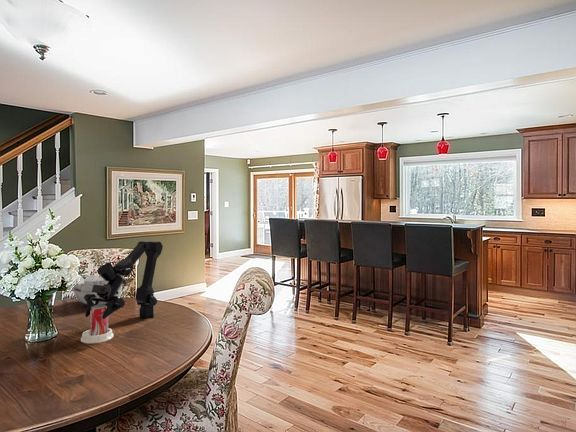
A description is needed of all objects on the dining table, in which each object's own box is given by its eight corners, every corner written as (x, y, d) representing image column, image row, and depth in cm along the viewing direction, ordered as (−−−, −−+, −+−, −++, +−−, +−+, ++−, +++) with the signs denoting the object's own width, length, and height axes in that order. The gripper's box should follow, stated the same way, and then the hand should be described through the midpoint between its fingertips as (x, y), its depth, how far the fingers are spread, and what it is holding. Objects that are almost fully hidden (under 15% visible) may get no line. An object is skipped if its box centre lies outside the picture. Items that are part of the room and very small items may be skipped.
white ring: (115, 332, 184) (115, 326, 184) (111, 341, 172) (111, 335, 172) (84, 334, 181) (84, 328, 181) (77, 344, 168) (77, 338, 168)
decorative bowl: (72, 300, 243) (71, 275, 242) (125, 295, 253) (124, 272, 253) (63, 313, 215) (62, 285, 214) (123, 307, 225) (123, 281, 224)
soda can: (109, 332, 182) (108, 303, 181) (107, 337, 175) (107, 307, 175) (91, 333, 180) (91, 305, 179) (89, 339, 173) (89, 309, 172)
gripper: (86, 275, 182) (66, 306, 172) (119, 278, 176) (101, 309, 166) (99, 289, 190) (81, 319, 180) (132, 292, 184) (115, 323, 174)
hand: (94, 317), depth 175 cm, fingers open, 9 cm apart
